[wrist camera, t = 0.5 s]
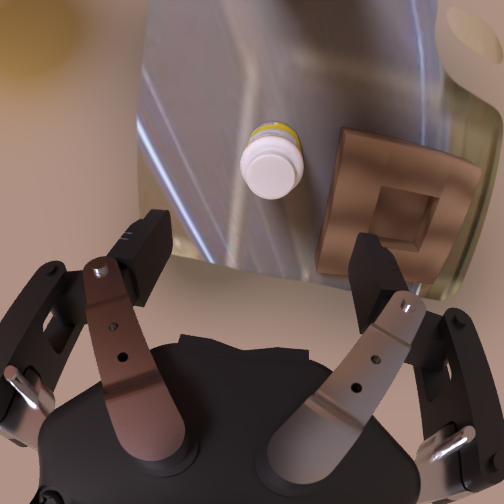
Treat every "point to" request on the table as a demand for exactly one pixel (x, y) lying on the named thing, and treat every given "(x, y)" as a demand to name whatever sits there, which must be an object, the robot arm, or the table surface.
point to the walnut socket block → (395, 203)
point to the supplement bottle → (272, 160)
